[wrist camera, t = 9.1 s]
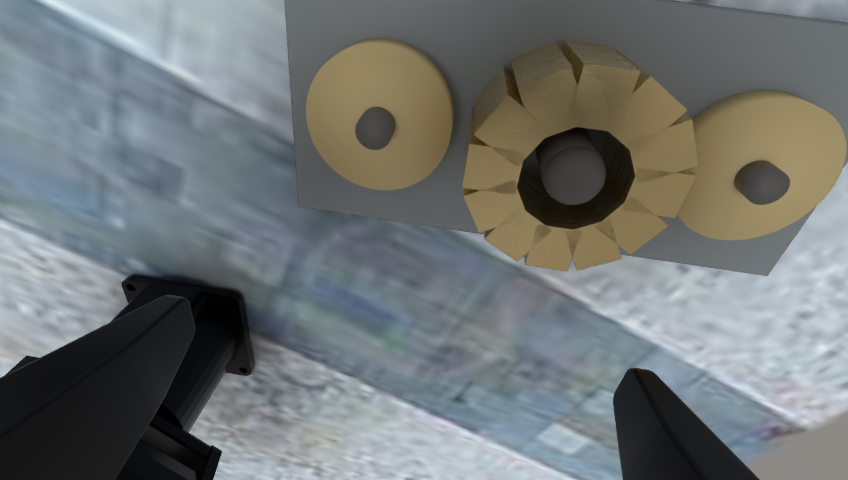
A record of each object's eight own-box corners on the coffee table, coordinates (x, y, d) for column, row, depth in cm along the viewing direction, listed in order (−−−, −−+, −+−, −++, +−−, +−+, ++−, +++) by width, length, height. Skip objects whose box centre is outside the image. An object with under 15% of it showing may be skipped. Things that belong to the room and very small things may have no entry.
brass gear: (616, 226, 17) (643, 282, 14) (456, 203, 18) (450, 254, 15) (687, 55, 14) (741, 84, 11) (484, 29, 14) (485, 50, 11)
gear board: (749, 254, 19) (831, 350, 15) (310, 190, 20) (258, 263, 15) (895, 28, 14) (1092, 68, 9) (298, -48, 15) (215, -45, 10)
